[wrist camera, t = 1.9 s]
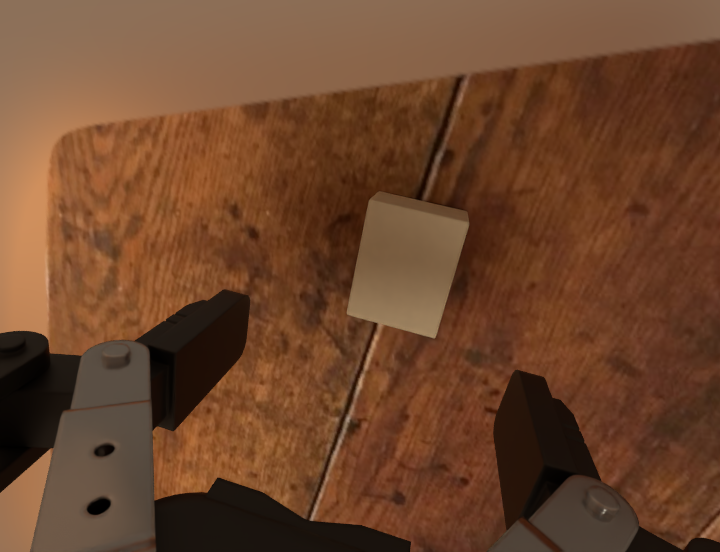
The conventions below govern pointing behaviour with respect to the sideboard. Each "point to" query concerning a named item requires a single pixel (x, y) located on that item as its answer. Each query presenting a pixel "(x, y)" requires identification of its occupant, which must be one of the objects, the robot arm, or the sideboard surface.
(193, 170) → the sideboard surface
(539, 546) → the robot arm
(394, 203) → the cream pad
